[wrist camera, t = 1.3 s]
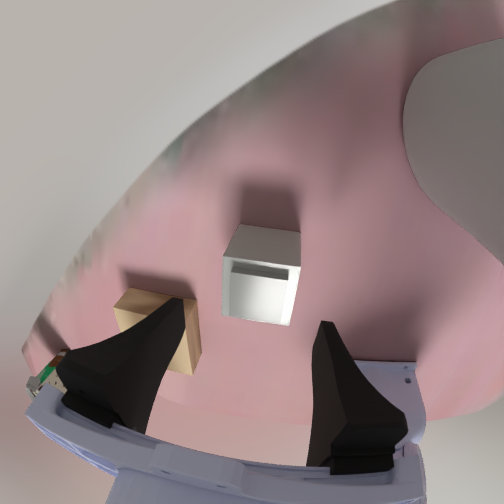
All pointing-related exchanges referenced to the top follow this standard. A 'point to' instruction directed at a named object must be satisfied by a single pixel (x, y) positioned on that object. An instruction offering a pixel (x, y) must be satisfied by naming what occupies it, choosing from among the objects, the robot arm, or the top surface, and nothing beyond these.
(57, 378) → the food container
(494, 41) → the cylinder vase
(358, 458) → the robot arm
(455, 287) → the top surface
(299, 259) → the block
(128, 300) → the oak block
